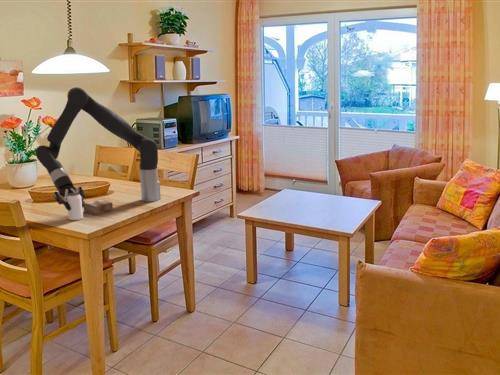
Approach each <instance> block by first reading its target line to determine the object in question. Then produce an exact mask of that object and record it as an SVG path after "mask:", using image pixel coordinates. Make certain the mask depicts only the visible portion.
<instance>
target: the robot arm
mask: <svg viewBox="0 0 500 375" xmlns="http://www.w3.org/2000/svg"><path fill="white" fill-rule="evenodd" d="M81 110H82V111H84V112H85V113H87V114H88V115H90V116H91V118H92V119H94V120H95V121H96V122H97V123H98V124H99V125H101V126H102V127H103V128H104V129H105V130H107V131H109V133H111V134H113V135H115V136H116V137H118V138H119V139H121V140H124V141H126V142H127V143H128V144H130V146H132V147H133V148H134V149H135V150H136V151H138V153H139V156H140V159H139V160H140V162H139V178H140V180H139V181H140V192H141V194H140V195H141V201H142V202H147V203H149V202H156V201H159V200H161V183H160V181H159V176H158V174H159V173H158V164H159V163H158V162H159V152H158V150H159V149H158V145H157V143H156V142H155V140H153V139H151V138H149V137H147V136H144V134H141V133H140V132H139V131H137V130H136V129H134V128H133V127H132V126H131V124H129V123H128V121H126V120H125V119H124V118H122V116H120V115H119V114H117V113H116V112H114V111H112V110H111V109H110V108H108V107H106V106H104V105H102V104H101V103H99V102H98V101H97V100H95V99H94V98H93V97H92V96H90V95H89V94H88V93H87V92H86V90H85V89H83V88H81V87H77V86H76V87H72V88H71V89H69V90H68V92H67V101H66V104H65V106H64V109H63V110H62V112H61V114H60V115H59V117H58V119H57V120H56V121H55V123H54V124H53V125H52V127H51V130H50V131H49V133H48V135H47V137H46V140H47V142H49V146H47V145H39V146H38V147H37V148H36V149H35V156H36V158H37V160H38V162H40V164H41V165H42V166H43V167H44V168H45V169H46V171H47V172H48V174H49V176H50V179H51V181H52V183H53V185H54V187H55V188H56V190H57V191H54V192H53V194H52V196H53V198H54V199H55V200H56V202H57V204H58V205H63V206H64V208H65V209H66V211H67V212H68V211H69V210H71V207H70V205H69V203H68V202H67V196H68V195H67V194H70V193H80V196H81V199H82V208H84V206H85V203H86V202H85V201H84V199H85V197H86V194H85V192H84V189H83V188H82V186H79V187H75V186H74V183H73V181H72V180H71V178H70V176H69V174H68V173H67V171H66V169H65V168H64V166H63V165H62V163H61V162H60V161H59V160H57V159H58V157H59V155H60V151H61V147H62V143H63V141H64V139H65V137H66V136H67V134H68V132H69V130H70V128H71V126H72V124H73V122H74V121H75V119H76V117H77V116H78V114H79V113H80V112H81Z"/></svg>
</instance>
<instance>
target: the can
mask: <svg viewBox="0 0 500 375" xmlns="http://www.w3.org/2000/svg"><path fill="white" fill-rule="evenodd" d="M67 195H68V196H67V202H68V203H69V205H70V207H71V210H69V211H68V210H67V213H68V215H67V216H68V219H69V220H70V221H73V222H75V221H80V220H82V219H83V218H84V208H83V207H82V199H81V196H80V193H78V192H77V193H70V194H67Z"/></svg>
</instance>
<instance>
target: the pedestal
mask: <svg viewBox="0 0 500 375" xmlns="http://www.w3.org/2000/svg"><path fill="white" fill-rule="evenodd" d="M113 207H114V206H113V202H111V201H107V200H103V199H98V200H93V201H90V202H85V206H84V207H83V213H88V214H90V215H93V216H98V215H101V214H105V213H109V212H113V211H114V208H113Z"/></svg>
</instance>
